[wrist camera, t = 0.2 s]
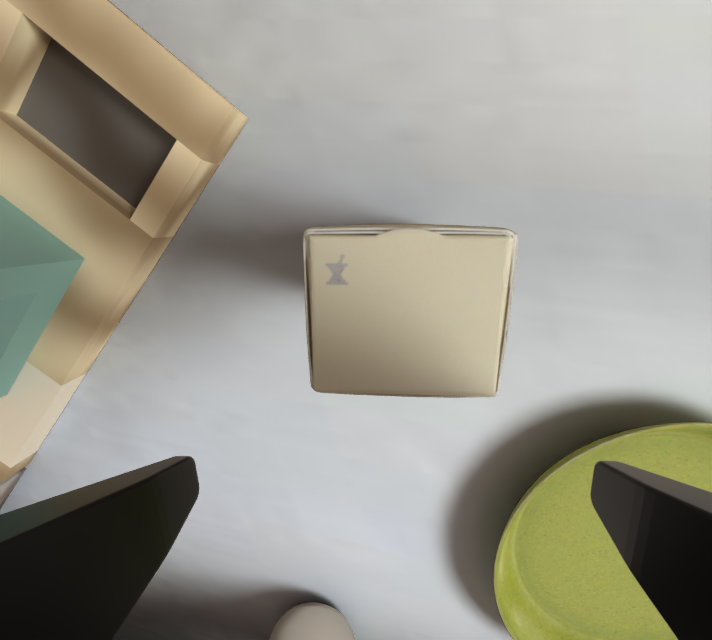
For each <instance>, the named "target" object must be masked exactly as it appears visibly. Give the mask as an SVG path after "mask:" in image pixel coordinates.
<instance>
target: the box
mask: <svg viewBox="0 0 712 640" xmlns="http://www.w3.org/2000/svg"><path fill="white" fill-rule="evenodd" d="M517 246H518V235H517V233H515V232H514V231H512V230H509V229H506V228H497V227H480V226H461V225H430V224H375V225H345V226H323V227H310V228H307V229H306V230H304V233H303V259H304V288H305V310H306V331H307V344H308V358H309V368H310V382H311V387H312V388H313V389H314V390H315V391H317V392H322V393H336V394H354V395H378V396H402V397H444V398H460V397H494V396H496V395H497V394H498V393H499V391H500V382H501V374H502V366H503V360H504V354H505V348H506V342H507V332H508V326H509V319H510V312H511V305H512V295H513V287H514V276H515V267H516V257H517Z"/></svg>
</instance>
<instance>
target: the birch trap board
mask: <svg viewBox="0 0 712 640" xmlns="http://www.w3.org/2000/svg"><path fill="white" fill-rule="evenodd" d="M247 120H248V118H247V117H246V116H245V115H244V114H243V113H241V112H240V111H239V110H238V109H237V108H235V107H234V106H233V105H232V104H231V103H229V102H228V101H227V100H226V99H225V98H224V97H222V96H221V95H220V94H219V93H218V92H216V91H215V90H214V89H213V88H212V87H211V86H209V85H208V84H207V83H206V82H205V81H203V80H202V79H201V78H200V77H199V76H198V75H196V74H195V73H194V72H193V71H192V70H190V69H189V68H188V67H187V66H186V65H185V64H183V63H182V62H181V61H180V60H179V59H177V58H176V57H175V56H174V55H173V54H172V53H170V52H169V51H168V50H167V49H166V48H164V47H163V46H162V45H161V44H160V43H159V42H157V41H156V40H155V39H154V38H153V37H151V36H150V35H149V34H148V33H147V32H145V31H144V30H143V29H142V28H141V27H140V26H138V25H137V24H136V23H135V22H134V21H132V20H131V19H130V18H129V17H128V16H127V15H125V14H124V13H123V12H122V11H121V10H119V9H118V8H117V7H116V6H115V5H114V4H112V3H111V2H110V1H109V0H0V195H1V196H3V197H4V198H5V199H7V200H8V201H9V202H11V203H12V204H13V205H15V206H16V207H17V208H19V209H20V210H21V211H23V212H24V213H25V214H26V215H28V216H29V217H30V218H32V219H33V220H34V221H36V222H37V223H38V224H40V225H41V226H42V227H44V228H45V229H46V230H48V231H49V232H50V233H52V234H53V235H54V236H56V237H57V238H58V239H60V240H61V241H62V242H63V243H65V244H66V245H67V246H69V247H70V248H71V249H73V250H74V251H75V252H77V253H78V254H79V255H81V256H82V257H83V258H85V259H84V261H83V263H82V264H81V266H80V268H79V270H78V271H77V273H76V275H75V277H74V278H73V280H72V282H71V284H70V285H69V287H68V289H67V291H66V292H65V294H64V296H63V298H62V299H61V301H60V303H59V305H58V306H57V308H56V310H55V312H54V313H53V315H52V317H51V319H50V320H49V322H48V324H47V326H46V327H45V329H44V331H43V333H42V334H41V336H40V338H39V340H38V341H37V343H36V345H35V347H34V348H33V350H32V352H31V354H30V355H29V357H28V359H27V362H28V363H30V364H31V365H33V366H34V367H35V368H37V369H38V370H40V371H41V372H43V373H44V374H45V375H47V376H48V377H50V378H51V379H52V380H54V381H55V382H57V383H58V384H59V385H61V386H62V385H64V384H66V383H68V382H70V381H72V380H74V379H76V378H78V377H80V376H82V375H84V374H86V373H87V372H88V370H89V369H90V367H91V365H92V364H93V362H94V361H95V359H96V358H97V356H98V354H99V353H100V351H101V350H102V348H103V347H104V345H105V343H106V342H107V340H108V339H109V337H110V336H111V334H112V332H113V331H114V329H115V328H116V326H117V325H118V323H119V321H120V320H121V318H122V317H123V315H124V314H125V312H126V310H127V309H128V307H129V306H130V304H131V303H132V301H133V299H134V298H135V296H136V295H137V293H138V292H139V290H140V288H141V287H142V285H143V284H144V282H145V281H146V279H147V277H148V276H149V274H150V273H151V271H152V270H153V268H154V266H155V265H156V263H157V262H158V260H159V259H160V257H161V255H162V254H163V252H164V251H165V249H166V248H167V246H168V244H169V243H170V241H171V240H172V238H173V237H174V235H175V233H176V232H177V230H178V229H179V227H180V226H181V224H182V222H183V221H184V219H185V218H186V216H187V215H188V213H189V211H190V210H191V208H192V207H193V205H194V204H195V202H196V200H197V199H198V197H199V196H200V194H201V193H202V191H203V189H204V188H205V186H206V185H207V183H208V182H209V180H210V178H211V177H212V175H213V174H214V172H215V171H216V169H217V167H218V166H219V164H220V163H221V161H222V160H223V158H224V156H225V155H226V153H227V152H228V150H229V149H230V147H231V145H232V144H233V142H234V141H235V139H236V138H237V136H238V134H239V133H240V131H241V130H242V128H243V127H244V125H245V123H246V122H247ZM36 452H37V451H36ZM36 452H35V453H36ZM35 453H33V454H32V455H30V456H28V457H27V458H25V459H24V460H22V461H21V462H19V463H18V464H16V465H15V466H13V467H12V468H10V467H8V466H7V465H5V464H4V463H2V462H1V461H0V508H1V507H2V505H3V504H4V502H5V501H6V499H7V497H8V496H9V494H10V493H11V491H12V490H13V488H14V486H15V485H16V483H17V482H18V480H19V479H20V477H21V475H22V474H23V472H24V471H25V469H26V468H24V467H25V466H27V465H28V464H29V463H30V461H31V460H32V458H33V457H34V455H35Z"/></svg>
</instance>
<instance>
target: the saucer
mask: <svg viewBox="0 0 712 640" xmlns="http://www.w3.org/2000/svg"><path fill="white" fill-rule="evenodd" d="M598 461H618V462H622V463H625V464H628V465H631V466H634V467H637V468H640V469H643V470H646V471H649V472H652V473H655V474H658V475H661V476H664V477H667V478H670V479H673V480H676V481H679V482H682V483H685V484H688V485H691V486H694V487H697V488H700V489H703V490H706V491H709V492H712V423H705V422H682V423H668V424H660V425H652V426H645V427H640V428H636V429H631V430H627V431H623V432H620V433H616V434H613V435H610V436H607V437H604V438H602V439H599V440H596V441H594V442H592V443H590V444H588V445H585V446H583V447H581V448H579V449H577V450H576V451H574V452H572V453H570V454H569V455H567V456H566V457H564V458H562V459H561V460H560V461H558V462H557V463H555V464H554V465H553V466H552V467H550V468H549V469H548V470H546V471H545V472H544V473H543V474H542V475H541V476H540V477H539V478H538V479H537V480H536V481H535V482H534V483H533V484H532V485H531V487H530V488H529V489H528V490H527V491H526V493H525V494H524V495H523V497H522V498H521V499H520V501H519V502H518V504H517V505H516V507H515V509H514V510H513V512H512V514H511V516H510V517H509V519H508V522H507V524H506V526H505V528H504V531H503V533H502V536H501V539H500V542H499V546H498V549H497V553H496V558H495V563H494V574H493V582H494V592H495V599H496V604H497V607H498V610H499V613H500V616H501V618H502V620H503V622H504V625H505V626H506V628H507V630H508V632H509V634H510V635H511V637H512V638H513V640H678V639H677V637H676V636H675V634H674V633H673V632H672V630H671V629H670V627H669V626H668V625H667V623H666V622H665V620H664V619H663V617H662V616H661V615H660V613H659V612H658V610H657V609H656V607H655V606H654V605H653V603H652V602H651V600H650V599H649V598H648V596H647V595H646V593H645V592H644V590H643V589H642V588H641V586H640V585H639V583H638V582H637V580H636V579H635V577H634V576H633V574H632V573H631V571H630V570H629V568H628V566H627V565H626V563H625V562H624V560H623V558H622V556H621V555H620V553H619V551H618V549H617V548H616V546H615V544H614V542H613V541H612V539H611V537H610V535H609V534H608V532H607V530H606V528H605V527H604V525H603V523H602V521H601V520H600V518H599V516H598V514H597V513H596V511H595V509H594V507H593V505H592V501H591V495H590V493H591V485H592V478H593V471H594V466H595V464H596V463H597V462H598Z"/></svg>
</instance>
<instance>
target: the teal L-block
mask: <svg viewBox="0 0 712 640" xmlns="http://www.w3.org/2000/svg"><path fill="white" fill-rule="evenodd" d="M84 259H85V258H83V257H82V256H81V255H79V254H78V253H77V252H75V251H74V250H73V249H71V248H70V247H69V246H67V245H66V244H65V243H63V242H62V241H61V240H60V239H58V238H57V237H56V236H54V235H53V234H52V233H50V232H49V231H48V230H46V229H45V228H44V227H42V226H41V225H40V224H38V223H37V222H36V221H34V220H33V219H32V218H30V217H29V216H28V215H26V214H25V213H24V212H23V211H21V210H20V209H19V208H17V207H16V206H15V205H13V204H12V203H11V202H9V201H8V200H7V199H5V198H4V197H3V196H1V195H0V398H1V397H3V396H5V395H7V394H8V392H9V390H10V388H11V387H12V385H13V383H14V381H15V380H16V378H17V376H18V374H19V373H20V371H21V369H22V368H23V366H24V364H25V362H26V361H27V359H28V357H29V355H30V354H31V352H32V350H33V348H34V347H35V345H36V343H37V341H38V340H39V338H40V336H41V334H42V333H43V331H44V329H45V327H46V326H47V324H48V322H49V320H50V319H51V317H52V315H53V313H54V312H55V310H56V308H57V306H58V305H59V303H60V301H61V299H62V298H63V296H64V294H65V292H66V291H67V289H68V287H69V285H70V284H71V282H72V280H73V278H74V277H75V275H76V273H77V271H78V270H79V268H80V266H81V264H82V263H83V261H84Z"/></svg>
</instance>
